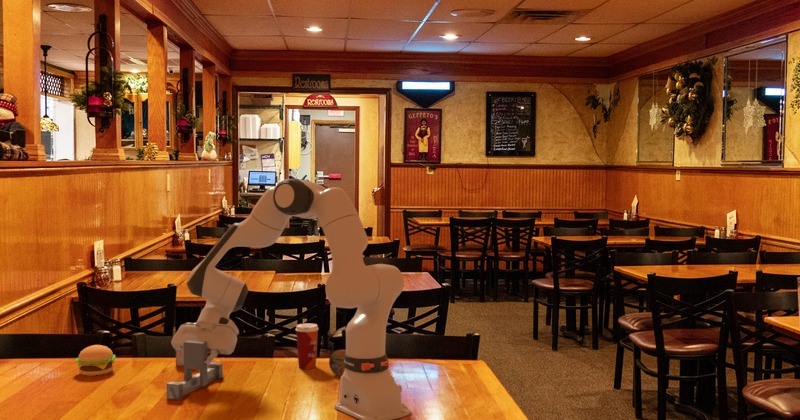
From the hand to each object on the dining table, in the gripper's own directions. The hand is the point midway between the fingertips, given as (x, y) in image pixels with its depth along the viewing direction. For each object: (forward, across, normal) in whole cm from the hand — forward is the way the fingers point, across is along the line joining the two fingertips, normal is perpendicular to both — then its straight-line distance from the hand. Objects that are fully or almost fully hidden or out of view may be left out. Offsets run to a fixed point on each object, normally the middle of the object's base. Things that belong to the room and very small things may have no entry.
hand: (194, 363), depth 222 cm
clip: (+4, 0, +5) cm, 7 cm away
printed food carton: (-10, -17, +21) cm, 29 cm away
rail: (+5, 0, +6) cm, 8 cm away
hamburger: (+2, -40, +10) cm, 41 cm away
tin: (-12, +40, +24) cm, 48 cm away
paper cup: (-17, +23, +28) cm, 40 cm away
